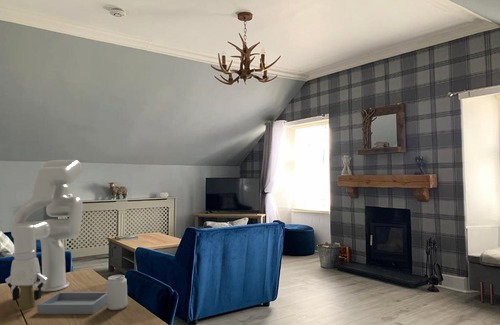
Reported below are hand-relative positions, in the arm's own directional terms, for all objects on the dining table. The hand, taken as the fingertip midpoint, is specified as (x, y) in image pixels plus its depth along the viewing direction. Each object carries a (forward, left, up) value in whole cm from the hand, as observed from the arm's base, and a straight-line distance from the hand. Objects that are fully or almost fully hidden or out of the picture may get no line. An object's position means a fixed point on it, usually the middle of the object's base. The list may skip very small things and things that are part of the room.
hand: (26, 299), depth 152 cm
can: (+32, +20, -3) cm, 38 cm away
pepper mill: (0, 0, -3) cm, 3 cm away
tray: (+17, +11, -3) cm, 20 cm away
